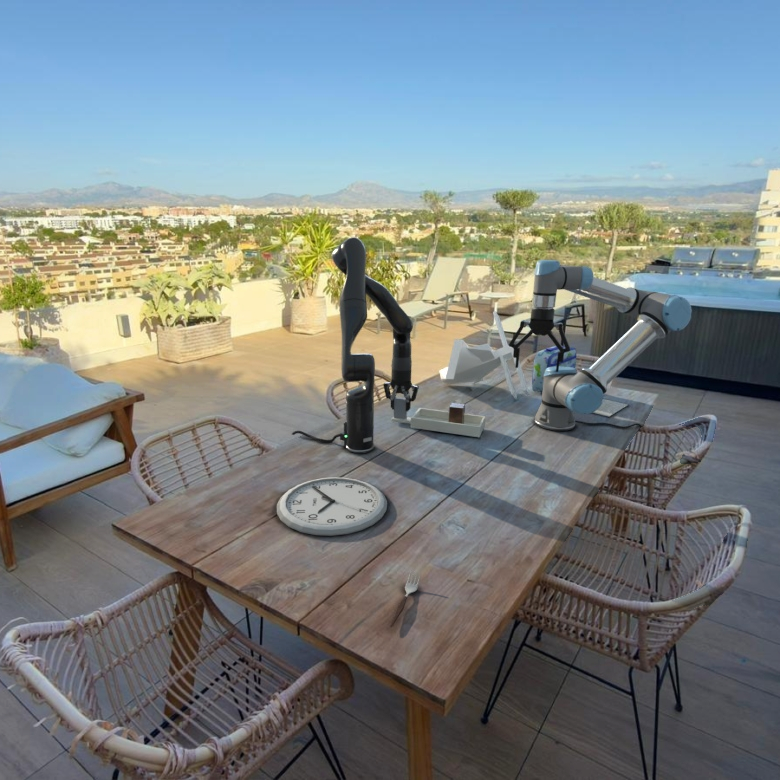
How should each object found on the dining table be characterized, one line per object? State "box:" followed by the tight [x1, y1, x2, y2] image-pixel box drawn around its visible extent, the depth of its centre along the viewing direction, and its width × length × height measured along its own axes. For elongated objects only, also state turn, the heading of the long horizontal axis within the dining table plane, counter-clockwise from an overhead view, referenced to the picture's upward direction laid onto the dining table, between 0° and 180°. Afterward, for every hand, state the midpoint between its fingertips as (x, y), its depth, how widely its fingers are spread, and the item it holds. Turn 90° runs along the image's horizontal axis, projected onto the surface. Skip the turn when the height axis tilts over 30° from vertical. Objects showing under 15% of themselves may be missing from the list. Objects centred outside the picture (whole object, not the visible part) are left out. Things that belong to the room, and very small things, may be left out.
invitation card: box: [592, 398, 629, 418], centre depth 226 cm, size 21×1×15 cm
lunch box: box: [531, 345, 577, 393], centre depth 245 cm, size 26×11×21 cm, turn 134°
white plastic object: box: [438, 310, 531, 400], centre depth 245 cm, size 37×45×31 cm
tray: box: [390, 396, 486, 438], centre depth 198 cm, size 35×12×9 cm, turn 71°
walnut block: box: [448, 402, 466, 424], centre depth 196 cm, size 5×5×8 cm
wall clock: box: [276, 476, 388, 537], centre depth 142 cm, size 30×2×30 cm
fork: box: [390, 569, 422, 628], centre depth 106 cm, size 3×16×2 cm, turn 160°
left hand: (400, 409), depth 202 cm, fingers closed on tray, 5 cm apart
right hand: (536, 368), depth 181 cm, fingers open, 13 cm apart
